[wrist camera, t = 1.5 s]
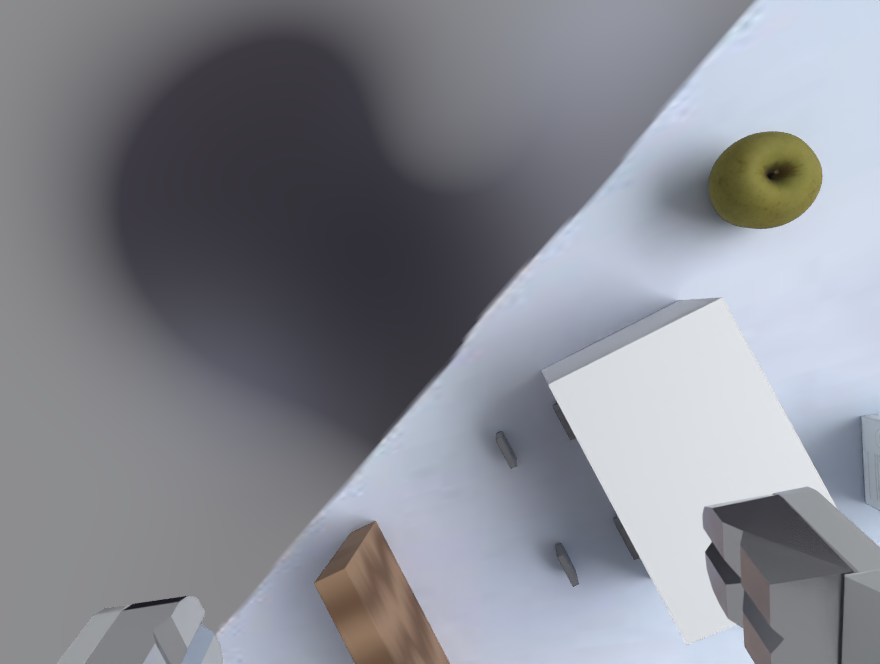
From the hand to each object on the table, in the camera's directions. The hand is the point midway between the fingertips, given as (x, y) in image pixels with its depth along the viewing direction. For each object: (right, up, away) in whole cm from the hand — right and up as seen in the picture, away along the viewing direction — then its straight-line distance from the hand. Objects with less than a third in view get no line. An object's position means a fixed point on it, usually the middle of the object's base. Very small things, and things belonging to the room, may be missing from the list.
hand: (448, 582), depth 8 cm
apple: (+27, +16, +39) cm, 50 cm away
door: (-3, -24, +45) cm, 51 cm away
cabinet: (+18, -8, +41) cm, 45 cm away
